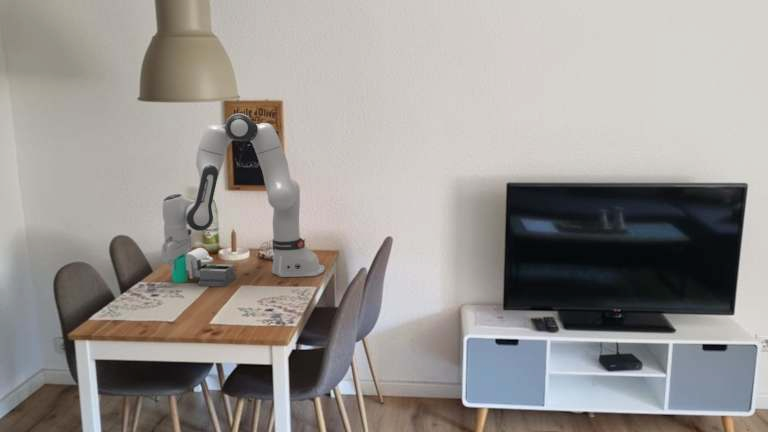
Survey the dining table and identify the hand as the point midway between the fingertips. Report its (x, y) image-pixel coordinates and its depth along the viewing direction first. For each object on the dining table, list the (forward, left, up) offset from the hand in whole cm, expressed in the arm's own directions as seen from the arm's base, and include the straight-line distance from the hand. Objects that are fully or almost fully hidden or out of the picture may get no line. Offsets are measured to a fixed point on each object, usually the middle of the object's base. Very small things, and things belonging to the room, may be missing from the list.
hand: (178, 266), depth 308 cm
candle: (0, 0, -6) cm, 6 cm away
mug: (-1, -18, -6) cm, 19 cm away
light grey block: (-11, 0, -4) cm, 11 cm away
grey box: (-16, 0, -6) cm, 17 cm away
